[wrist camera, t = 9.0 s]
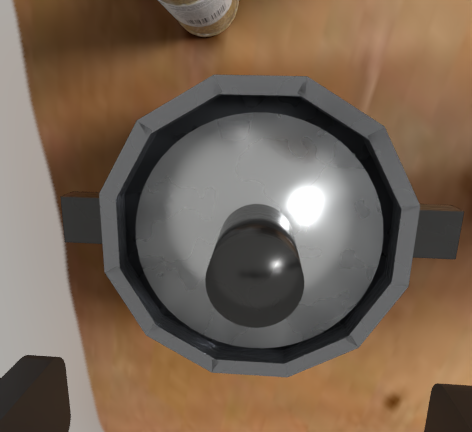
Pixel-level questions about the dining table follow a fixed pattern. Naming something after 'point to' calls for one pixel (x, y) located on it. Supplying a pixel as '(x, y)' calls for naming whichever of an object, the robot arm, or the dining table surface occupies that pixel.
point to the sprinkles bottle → (203, 15)
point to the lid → (259, 230)
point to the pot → (279, 102)
